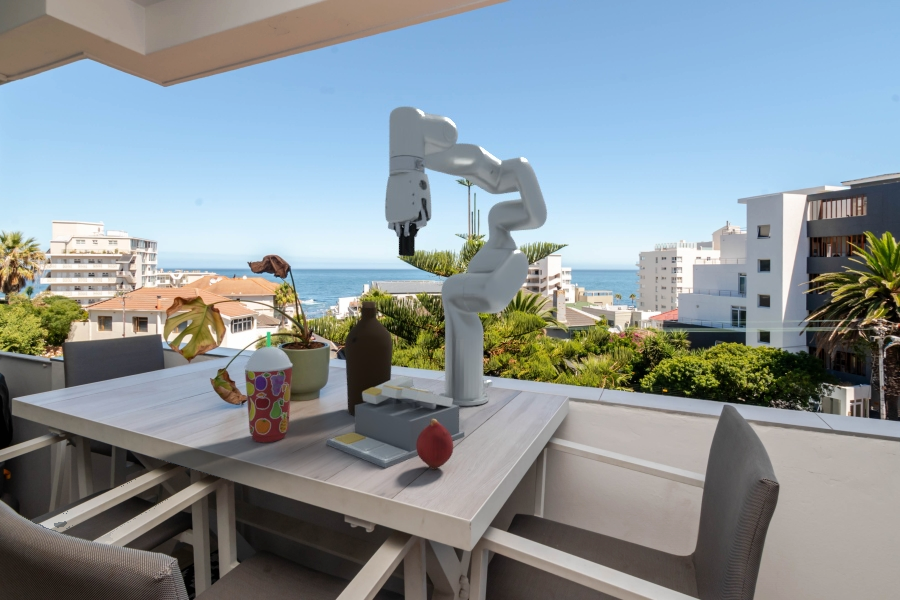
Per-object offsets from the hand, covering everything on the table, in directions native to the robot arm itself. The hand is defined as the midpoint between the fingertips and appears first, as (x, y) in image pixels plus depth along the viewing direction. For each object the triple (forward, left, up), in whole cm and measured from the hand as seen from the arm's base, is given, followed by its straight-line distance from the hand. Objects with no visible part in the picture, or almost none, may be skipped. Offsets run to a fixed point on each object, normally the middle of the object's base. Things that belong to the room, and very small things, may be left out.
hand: (406, 255), depth 98 cm
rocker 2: (+8, +9, -28) cm, 31 cm away
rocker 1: (+8, +4, -28) cm, 29 cm away
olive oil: (+2, -10, -35) cm, 37 cm away
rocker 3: (+8, +14, -28) cm, 32 cm away
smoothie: (+26, -10, -35) cm, 45 cm away
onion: (+16, +23, -35) cm, 45 cm away
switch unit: (+11, +9, -35) cm, 38 cm away
